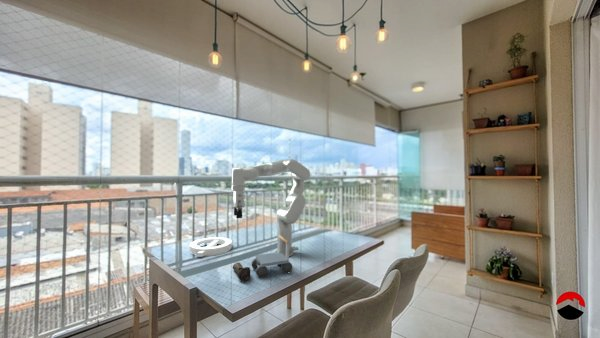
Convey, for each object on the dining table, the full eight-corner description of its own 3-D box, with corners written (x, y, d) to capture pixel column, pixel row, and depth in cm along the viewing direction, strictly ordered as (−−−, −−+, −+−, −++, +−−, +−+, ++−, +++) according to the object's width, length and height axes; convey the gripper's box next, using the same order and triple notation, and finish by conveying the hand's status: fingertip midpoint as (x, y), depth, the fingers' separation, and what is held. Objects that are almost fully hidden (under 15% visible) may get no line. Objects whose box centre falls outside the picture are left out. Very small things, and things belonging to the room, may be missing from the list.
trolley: (284, 263, 145) (284, 234, 145) (292, 273, 132) (293, 240, 132) (251, 268, 137) (251, 237, 137) (256, 279, 124) (257, 245, 124)
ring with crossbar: (221, 241, 190) (221, 235, 190) (238, 250, 170) (238, 243, 170) (184, 248, 171) (184, 242, 171) (198, 259, 151) (198, 252, 151)
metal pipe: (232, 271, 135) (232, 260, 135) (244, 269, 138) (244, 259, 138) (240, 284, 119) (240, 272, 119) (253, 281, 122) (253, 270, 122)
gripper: (247, 189, 138) (247, 218, 138) (242, 187, 154) (241, 213, 154) (234, 189, 135) (233, 219, 135) (230, 187, 151) (229, 214, 151)
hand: (237, 216), depth 145 cm, fingers open, 9 cm apart
